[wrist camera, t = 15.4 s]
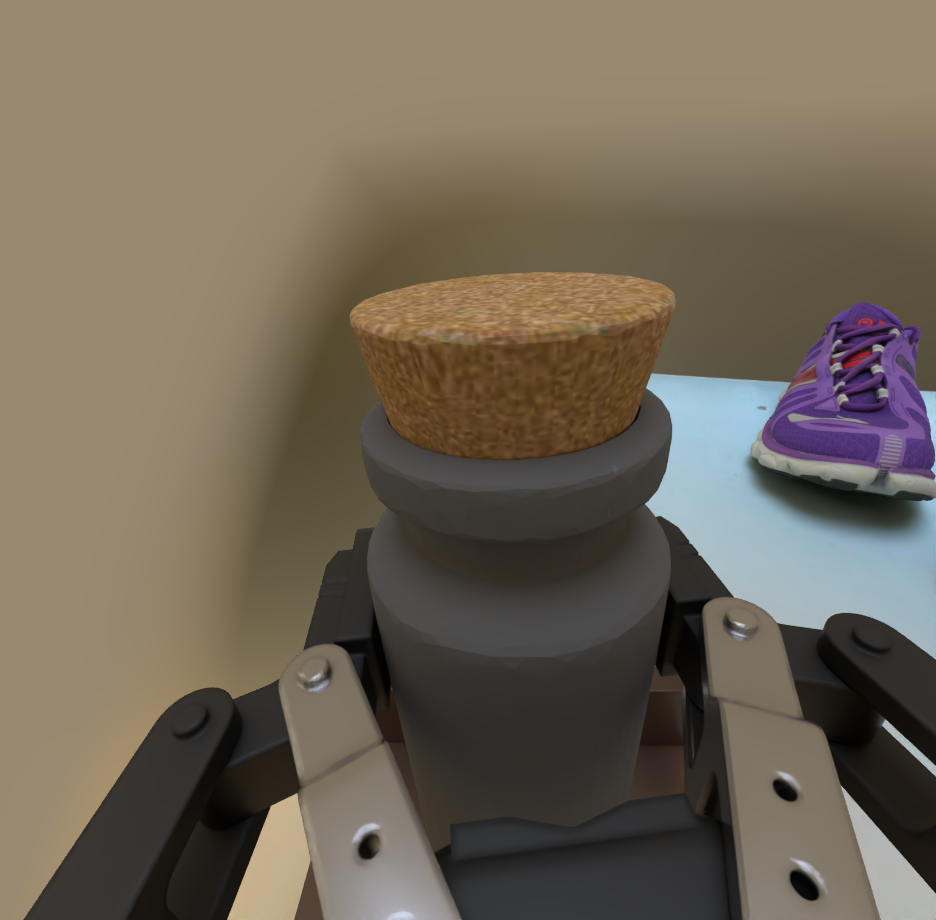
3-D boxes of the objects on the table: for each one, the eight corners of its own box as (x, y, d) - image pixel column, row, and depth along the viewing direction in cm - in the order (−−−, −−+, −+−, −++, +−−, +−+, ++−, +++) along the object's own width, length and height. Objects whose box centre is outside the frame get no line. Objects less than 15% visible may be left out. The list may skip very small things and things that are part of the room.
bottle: (386, 810, 14) (234, 312, 7) (508, 681, 18) (491, 262, 10) (541, 1008, 10) (561, 389, 3) (655, 795, 14) (787, 272, 7)
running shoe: (741, 514, 42) (784, 358, 35) (756, 384, 68) (783, 280, 61) (949, 560, 36) (1056, 380, 28) (878, 397, 61) (925, 282, 54)
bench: (289, 1107, 16) (200, 1050, 12) (366, 765, 25) (333, 665, 21) (773, 1145, 15) (873, 1096, 10) (663, 771, 24) (691, 665, 20)
